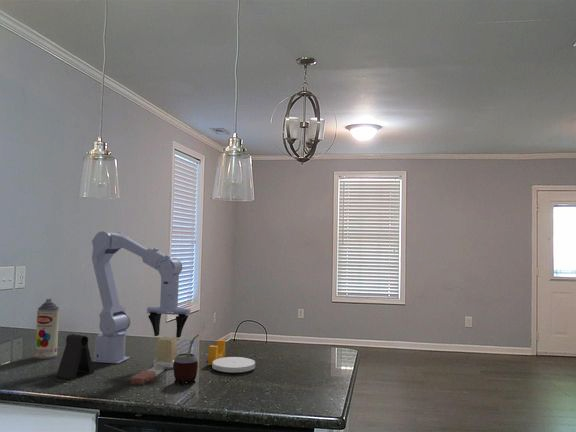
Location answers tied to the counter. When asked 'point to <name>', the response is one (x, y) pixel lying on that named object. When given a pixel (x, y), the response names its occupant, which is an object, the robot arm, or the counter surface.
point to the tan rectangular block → (166, 349)
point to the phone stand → (75, 358)
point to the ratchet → (151, 372)
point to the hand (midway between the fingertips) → (167, 336)
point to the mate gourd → (186, 366)
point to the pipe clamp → (216, 351)
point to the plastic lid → (233, 364)
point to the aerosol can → (47, 331)
